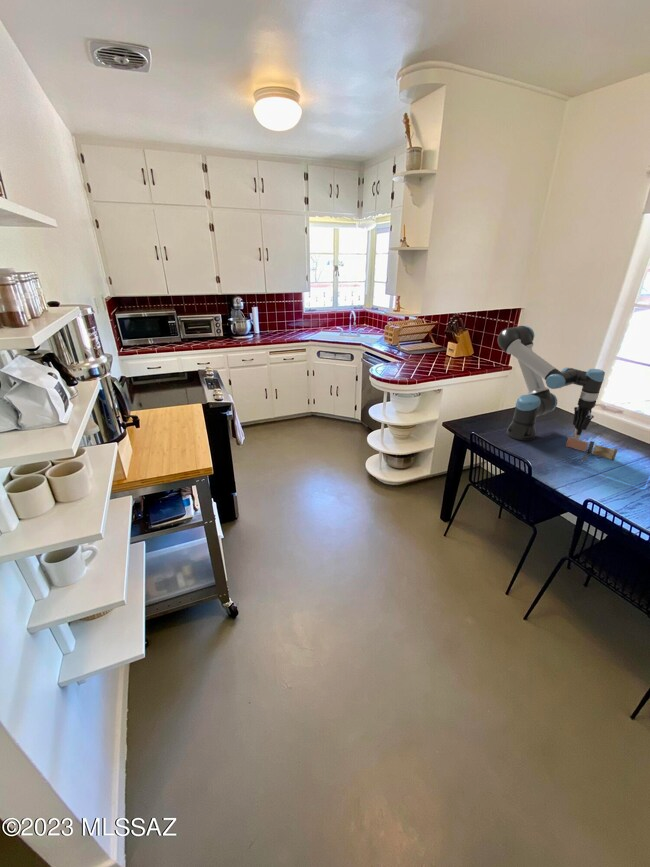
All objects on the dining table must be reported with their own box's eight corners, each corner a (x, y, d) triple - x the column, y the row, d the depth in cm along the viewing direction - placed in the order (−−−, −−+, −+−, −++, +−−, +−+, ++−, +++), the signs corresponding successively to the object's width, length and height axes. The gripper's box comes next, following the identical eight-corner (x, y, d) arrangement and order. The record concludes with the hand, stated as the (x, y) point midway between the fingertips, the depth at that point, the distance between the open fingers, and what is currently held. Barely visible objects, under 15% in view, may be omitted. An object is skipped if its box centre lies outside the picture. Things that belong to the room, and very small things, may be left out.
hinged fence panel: (585, 451, 191) (589, 441, 189) (585, 452, 191) (588, 442, 188) (565, 445, 198) (568, 436, 195) (565, 446, 197) (568, 437, 194)
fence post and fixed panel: (586, 452, 190) (589, 442, 187) (587, 451, 191) (590, 440, 188) (613, 460, 182) (617, 449, 179) (614, 459, 183) (618, 448, 180)
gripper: (573, 394, 193) (561, 433, 204) (588, 403, 182) (575, 444, 192) (587, 394, 193) (575, 433, 204) (603, 403, 181) (589, 444, 192)
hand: (575, 439), depth 198 cm, fingers closed
